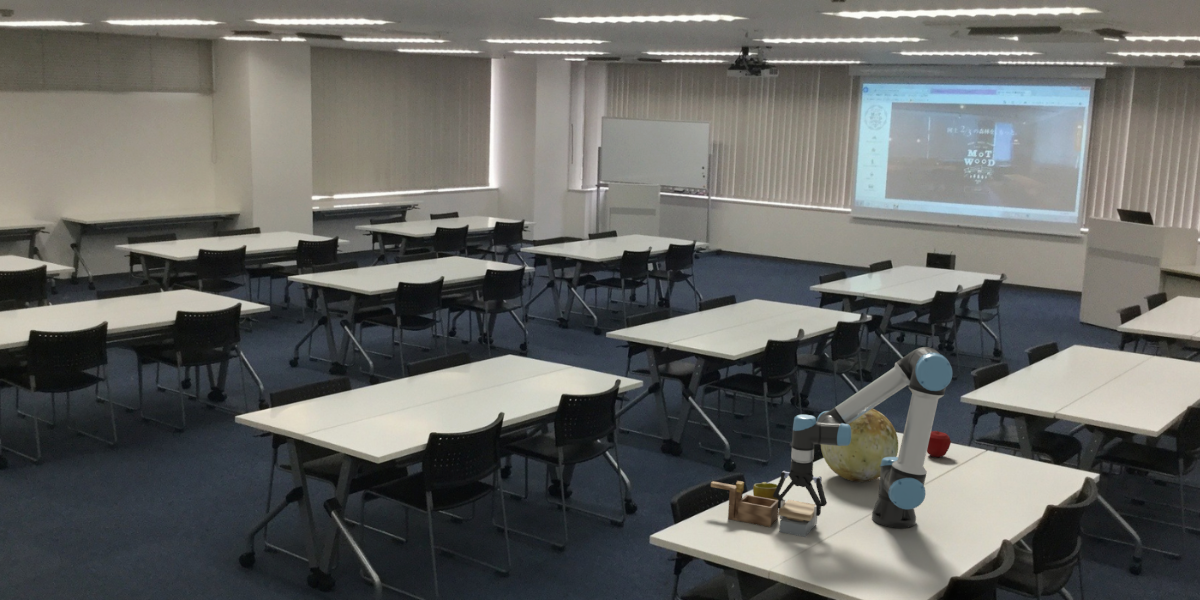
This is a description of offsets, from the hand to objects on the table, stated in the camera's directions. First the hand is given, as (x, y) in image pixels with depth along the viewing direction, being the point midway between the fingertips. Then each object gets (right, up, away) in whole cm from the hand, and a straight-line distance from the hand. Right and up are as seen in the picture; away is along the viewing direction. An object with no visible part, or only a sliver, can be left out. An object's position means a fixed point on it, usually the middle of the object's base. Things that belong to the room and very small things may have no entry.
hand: (798, 521), depth 360 cm
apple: (+78, +8, +92) cm, 121 cm away
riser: (0, -2, 0) cm, 3 cm away
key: (-24, +9, +10) cm, 27 cm away
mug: (-8, +1, +23) cm, 24 cm away
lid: (0, +3, 0) cm, 3 cm away
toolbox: (-15, -1, +7) cm, 16 cm away
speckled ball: (+34, +4, +56) cm, 65 cm away
